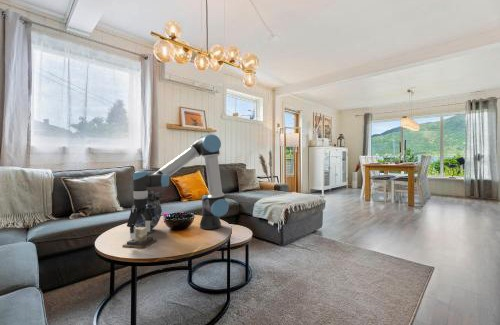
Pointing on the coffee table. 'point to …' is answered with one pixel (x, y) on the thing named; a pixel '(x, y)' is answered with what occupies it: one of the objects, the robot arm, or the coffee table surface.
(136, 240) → the birch block
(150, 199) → the decorative vase
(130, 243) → the base board
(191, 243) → the coffee table surface
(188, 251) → the coffee table surface
